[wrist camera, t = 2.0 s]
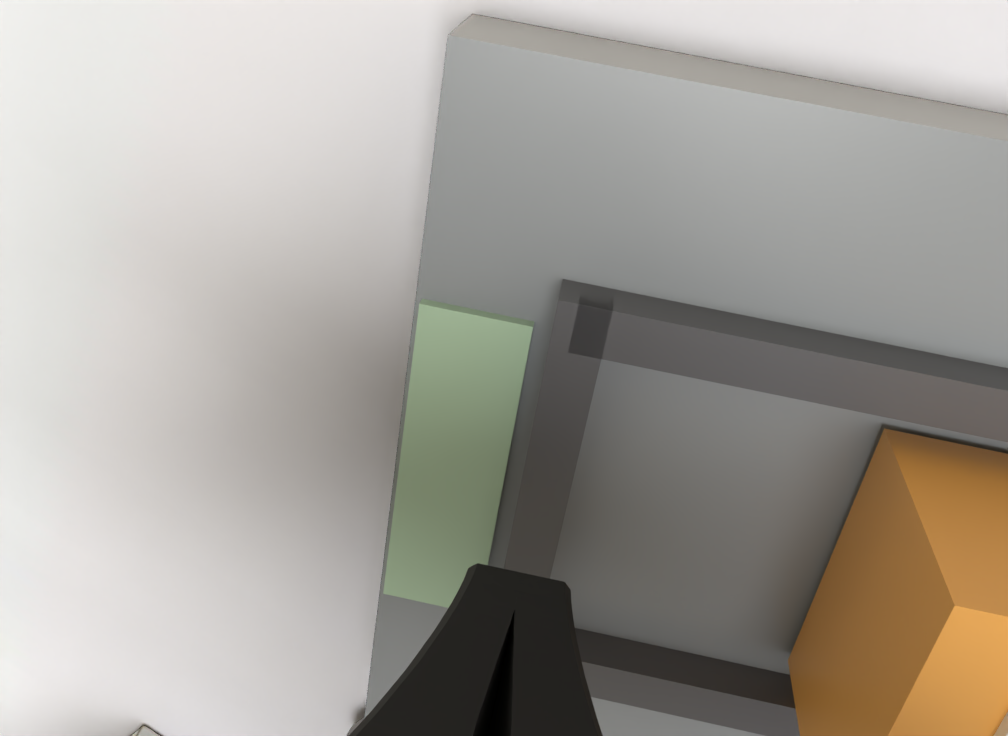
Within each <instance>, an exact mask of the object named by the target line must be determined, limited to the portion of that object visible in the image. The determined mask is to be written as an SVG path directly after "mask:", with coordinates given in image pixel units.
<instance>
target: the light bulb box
mask: <svg viewBox="0 0 1008 736" xmlns="http://www.w3.org/2000/svg"><path fill="white" fill-rule="evenodd" d="M132 736H159V735H158V734H156V733H155V732H154V731H152V730H151V729H149V728H147V727H146V726H142V727H141V728H140V729H139V730H138V731H136V732H135V733H134V734H133V735H132Z"/></svg>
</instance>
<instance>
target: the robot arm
mask: <svg viewBox="0 0 1008 736" xmlns="http://www.w3.org/2000/svg"><path fill="white" fill-rule="evenodd" d="M349 736H603V735H602V732H601V729H600V726H599V723H598V719H597V716H596V713H595V709H594V706H593V702H592V699H591V695H590V692H589V688H588V685H587V681H586V678H585V674H584V670H583V665H582V661H581V657H580V652H579V647H578V643H577V638H576V632H575V626H574V620H573V613H572V603H571V590H570V588H569V587H568V586H567V584H566V583H565V582H563V581H559V580H554V579H549V578H545V577H540V576H535V575H531V574H526V573H521V572H517V571H512V570H507V569H503V568H498V567H493V566H489V565H484V564H479V563H477V564H475V565H473V566H471V567H469V568H468V570H467V573H466V575H465V578H464V580H463V582H462V584H461V586H460V588H459V590H458V592H457V594H456V596H455V598H454V599H453V601H452V603H451V605H450V606H449V608H448V610H447V611H446V613H445V614H444V616H443V617H442V619H441V621H440V622H439V624H438V625H437V627H436V628H435V630H434V631H433V633H432V634H431V635H430V637H429V638H428V640H427V641H426V642H425V644H424V645H423V647H422V648H421V649H420V651H419V652H418V654H417V655H416V656H415V658H414V659H413V661H412V662H411V663H410V665H409V666H408V667H407V668H406V670H405V671H404V672H403V674H402V675H401V676H400V677H399V678H398V680H397V681H396V682H395V683H394V684H393V686H392V687H391V688H390V689H389V690H388V692H387V693H386V694H385V695H384V696H383V698H382V699H381V700H380V701H379V702H378V704H377V705H376V706H375V707H374V708H373V710H372V711H371V712H370V713H369V714H368V715H367V716H366V717H365V719H364V720H363V721H362V722H361V723H360V724H359V725H358V726H357V727H356V728H355V729H354V730H353V732H352V733H351V734H350V735H349Z"/></svg>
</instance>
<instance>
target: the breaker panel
mask: <svg viewBox="0 0 1008 736" xmlns="http://www.w3.org/2000/svg"><path fill="white" fill-rule="evenodd" d="M884 428H885V429H890V430H895V431H899V432H904V433H909V434H914V435H919V436H924V437H929V438H933V439H938V440H943V441H948V442H953V443H958V444H963V445H968V446H972V447H977V448H982V449H987V450H992V451H997V452H1002V453H1007V454H1008V115H1006V114H1000V113H995V112H990V111H984V110H979V109H974V108H969V107H963V106H958V105H953V104H947V103H942V102H937V101H931V100H926V99H921V98H916V97H910V96H905V95H900V94H894V93H889V92H884V91H878V90H873V89H868V88H863V87H857V86H852V85H847V84H841V83H836V82H831V81H825V80H820V79H815V78H809V77H804V76H799V75H794V74H788V73H783V72H778V71H772V70H767V69H762V68H756V67H751V66H746V65H741V64H735V63H730V62H725V61H719V60H714V59H709V58H703V57H698V56H693V55H688V54H682V53H677V52H672V51H666V50H661V49H656V48H650V47H645V46H640V45H635V44H629V43H624V42H619V41H613V40H608V39H603V38H597V37H592V36H587V35H581V34H576V33H571V32H566V31H560V30H555V29H550V28H544V27H539V26H534V25H528V24H523V23H518V22H513V21H507V20H502V19H497V18H491V17H486V16H481V15H475V14H472V15H471V16H469V17H468V18H467V19H466V20H465V21H464V22H462V23H461V24H460V25H459V26H458V27H457V28H455V29H454V30H453V31H452V32H451V33H450V34H448V39H447V47H446V55H445V63H444V72H443V80H442V88H441V96H440V104H439V112H438V121H437V129H436V137H435V145H434V153H433V161H432V170H431V178H430V186H429V194H428V202H427V210H426V219H425V227H424V235H423V243H422V251H421V259H420V267H419V276H418V284H417V292H416V300H415V308H414V316H413V325H412V333H411V341H410V349H409V357H408V365H407V374H406V382H405V390H404V398H403V406H402V414H401V423H400V431H399V439H398V447H397V455H396V463H395V472H394V480H393V488H392V496H391V504H390V512H389V521H388V529H387V537H386V545H385V553H384V561H383V570H382V578H381V586H380V594H379V602H378V610H377V619H376V627H375V635H374V643H373V651H372V659H371V667H370V676H369V684H368V692H367V700H366V708H365V716H364V719H365V717H366V716H367V715H368V714H369V713H370V712H371V711H372V710H373V708H374V707H375V706H376V705H377V704H378V702H379V701H380V700H381V699H382V698H383V696H384V695H385V694H386V693H387V692H388V690H389V689H390V688H391V687H392V686H393V684H394V683H395V682H396V681H397V680H398V678H399V677H400V676H401V675H402V674H403V672H404V671H405V670H406V668H407V667H408V666H409V665H410V663H411V662H412V661H413V659H414V658H415V656H416V655H417V654H418V652H419V651H420V649H421V648H422V647H423V645H424V644H425V642H426V641H427V640H428V638H429V637H430V635H431V634H432V633H433V631H434V630H435V628H436V627H437V625H438V624H439V622H440V621H441V619H442V617H443V616H444V614H445V613H446V611H447V610H448V608H449V606H450V605H451V603H452V601H453V599H454V598H455V596H456V594H457V592H458V590H459V588H460V586H461V584H462V582H463V580H464V578H465V575H466V573H467V570H468V568H469V567H471V566H473V565H475V564H477V563H479V564H484V565H489V566H493V567H498V568H503V569H507V570H512V571H517V572H521V573H526V574H531V575H535V576H540V577H545V578H549V579H554V580H559V581H563V582H565V583H566V584H567V586H568V587H569V588H570V590H571V603H572V613H573V620H574V626H575V632H576V638H577V643H578V647H579V652H580V657H581V661H582V665H583V670H584V674H585V678H586V681H587V685H588V688H589V692H590V695H591V699H592V702H593V706H594V709H595V713H596V716H597V719H598V723H599V726H600V729H601V732H602V735H603V736H800V732H799V726H798V720H797V714H796V708H795V702H794V696H793V690H792V683H791V677H790V671H789V665H788V659H789V657H790V654H791V652H792V649H793V647H794V645H795V642H796V640H797V637H798V635H799V633H800V630H801V628H802V625H803V623H804V621H805V618H806V616H807V613H808V611H809V608H810V606H811V604H812V601H813V599H814V596H815V594H816V592H817V589H818V587H819V584H820V582H821V580H822V577H823V575H824V572H825V570H826V567H827V565H828V563H829V560H830V558H831V555H832V553H833V551H834V548H835V546H836V543H837V541H838V539H839V536H840V534H841V531H842V529H843V527H844V524H845V522H846V519H847V517H848V514H849V512H850V510H851V507H852V505H853V502H854V500H855V498H856V495H857V493H858V490H859V488H860V486H861V483H862V481H863V478H864V476H865V474H866V471H867V469H868V466H869V464H870V461H871V459H872V457H873V454H874V452H875V449H876V447H877V445H878V442H879V440H880V437H881V435H882V433H883V430H884Z"/></svg>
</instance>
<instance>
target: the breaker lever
mask: <svg viewBox="0 0 1008 736" xmlns="http://www.w3.org/2000/svg"><path fill="white" fill-rule="evenodd" d="M788 665H789V671H790V677H791V683H792V690H793V696H794V702H795V708H796V714H797V720H798V726H799V732H800V736H1008V454H1007V453H1002V452H997V451H992V450H987V449H982V448H977V447H972V446H968V445H963V444H958V443H953V442H948V441H943V440H938V439H933V438H929V437H924V436H919V435H914V434H909V433H904V432H899V431H895V430H890V429H885V428H884V430H883V433H882V435H881V437H880V440H879V442H878V445H877V447H876V449H875V452H874V454H873V457H872V459H871V461H870V464H869V466H868V469H867V471H866V474H865V476H864V478H863V481H862V483H861V486H860V488H859V490H858V493H857V495H856V498H855V500H854V502H853V505H852V507H851V510H850V512H849V514H848V517H847V519H846V522H845V524H844V527H843V529H842V531H841V534H840V536H839V539H838V541H837V543H836V546H835V548H834V551H833V553H832V555H831V558H830V560H829V563H828V565H827V567H826V570H825V572H824V575H823V577H822V580H821V582H820V584H819V587H818V589H817V592H816V594H815V596H814V599H813V601H812V604H811V606H810V608H809V611H808V613H807V616H806V618H805V621H804V623H803V625H802V628H801V630H800V633H799V635H798V637H797V640H796V642H795V645H794V647H793V649H792V652H791V654H790V657H789V659H788Z"/></svg>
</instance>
